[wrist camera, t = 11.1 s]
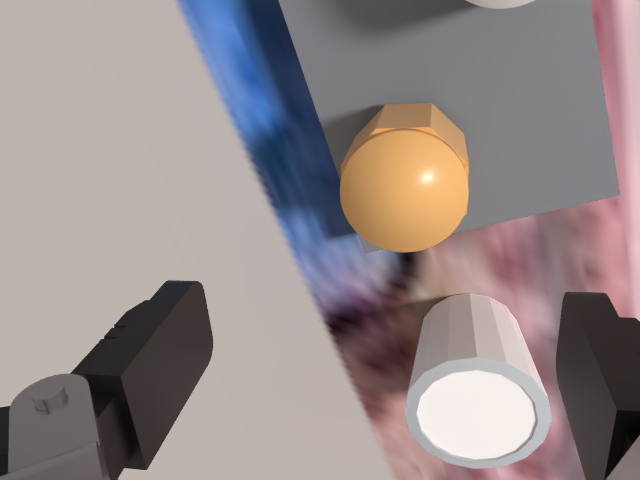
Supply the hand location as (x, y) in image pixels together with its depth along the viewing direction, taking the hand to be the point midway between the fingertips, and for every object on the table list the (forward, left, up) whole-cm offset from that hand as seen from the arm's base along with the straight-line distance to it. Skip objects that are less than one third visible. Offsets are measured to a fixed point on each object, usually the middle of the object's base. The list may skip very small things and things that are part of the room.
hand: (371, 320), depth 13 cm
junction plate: (-4, +2, -18) cm, 18 cm away
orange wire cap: (+1, 0, -14) cm, 14 cm away
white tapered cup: (+12, +3, -18) cm, 22 cm away
